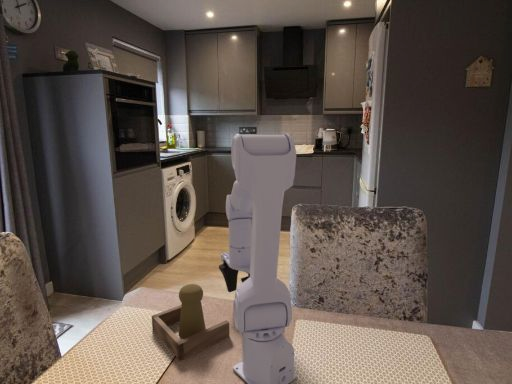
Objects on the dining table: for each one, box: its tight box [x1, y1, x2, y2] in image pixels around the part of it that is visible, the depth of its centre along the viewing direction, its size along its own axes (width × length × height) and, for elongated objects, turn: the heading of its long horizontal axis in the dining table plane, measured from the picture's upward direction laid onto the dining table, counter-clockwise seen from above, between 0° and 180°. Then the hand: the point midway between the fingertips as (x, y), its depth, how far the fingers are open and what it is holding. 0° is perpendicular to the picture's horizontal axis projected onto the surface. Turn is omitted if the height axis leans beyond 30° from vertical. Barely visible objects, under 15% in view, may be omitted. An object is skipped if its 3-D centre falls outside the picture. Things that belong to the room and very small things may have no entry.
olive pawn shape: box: [178, 283, 207, 340], centre depth 74 cm, size 6×6×11 cm
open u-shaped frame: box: [151, 304, 230, 361], centre depth 74 cm, size 13×12×4 cm
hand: (241, 296), depth 83 cm, fingers open, 7 cm apart
